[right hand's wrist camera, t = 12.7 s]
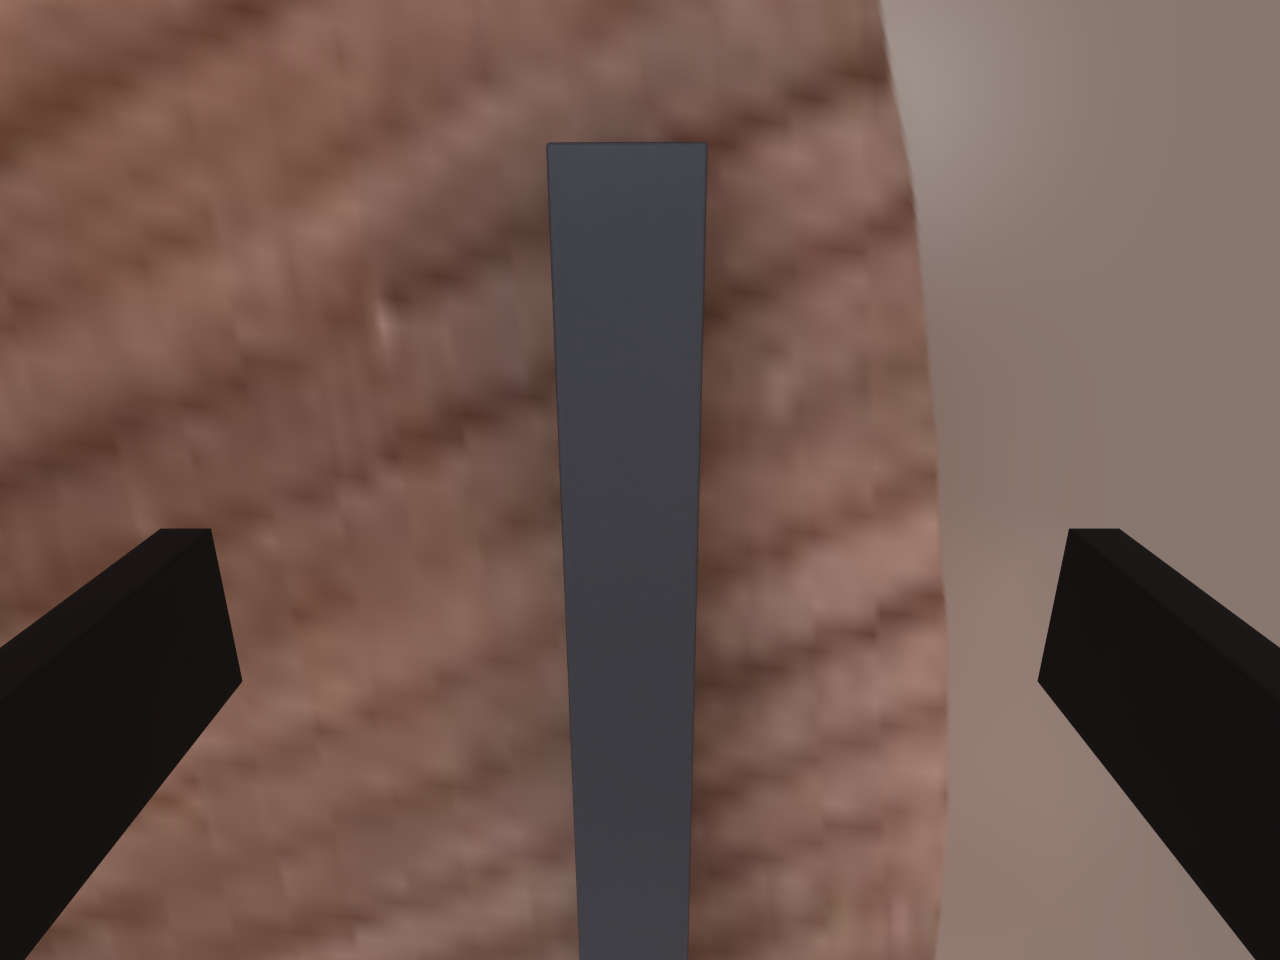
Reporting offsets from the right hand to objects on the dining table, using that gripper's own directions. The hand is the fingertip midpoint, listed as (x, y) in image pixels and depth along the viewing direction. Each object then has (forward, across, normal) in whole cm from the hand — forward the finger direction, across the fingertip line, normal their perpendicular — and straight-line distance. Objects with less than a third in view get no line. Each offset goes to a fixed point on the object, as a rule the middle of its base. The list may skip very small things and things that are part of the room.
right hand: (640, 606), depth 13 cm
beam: (+23, 0, -20) cm, 31 cm away
